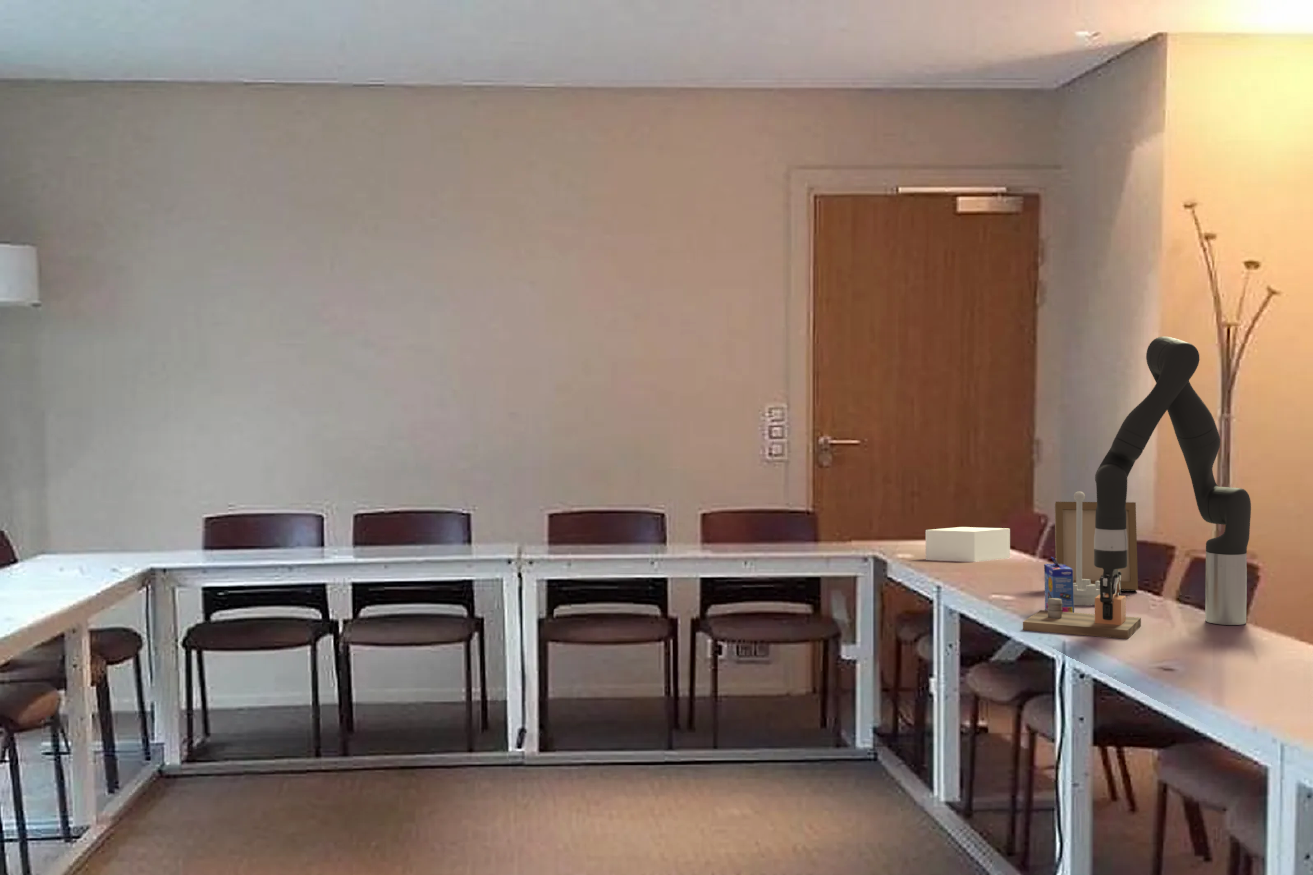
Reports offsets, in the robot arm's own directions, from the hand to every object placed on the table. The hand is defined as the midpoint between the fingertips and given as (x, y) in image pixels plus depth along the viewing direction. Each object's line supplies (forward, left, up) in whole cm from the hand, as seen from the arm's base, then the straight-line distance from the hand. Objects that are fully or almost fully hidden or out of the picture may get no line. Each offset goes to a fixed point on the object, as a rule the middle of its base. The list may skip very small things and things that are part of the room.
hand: (1110, 617), depth 310 cm
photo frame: (-64, -16, -3) cm, 66 cm away
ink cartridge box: (-18, -16, -3) cm, 24 cm away
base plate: (0, -7, -3) cm, 7 cm away
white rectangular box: (-109, -66, -3) cm, 127 cm away
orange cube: (0, 0, -1) cm, 1 cm away
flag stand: (-38, -15, -3) cm, 41 cm away
